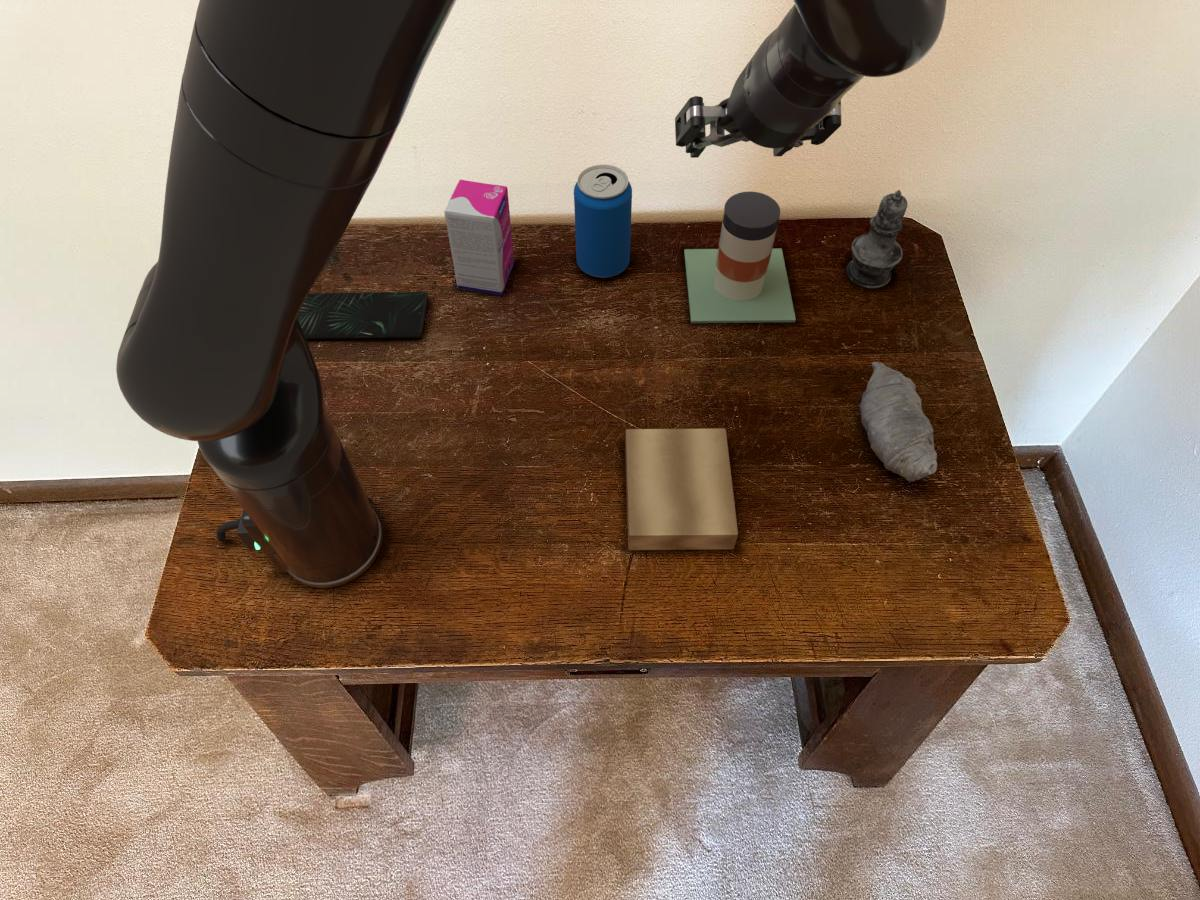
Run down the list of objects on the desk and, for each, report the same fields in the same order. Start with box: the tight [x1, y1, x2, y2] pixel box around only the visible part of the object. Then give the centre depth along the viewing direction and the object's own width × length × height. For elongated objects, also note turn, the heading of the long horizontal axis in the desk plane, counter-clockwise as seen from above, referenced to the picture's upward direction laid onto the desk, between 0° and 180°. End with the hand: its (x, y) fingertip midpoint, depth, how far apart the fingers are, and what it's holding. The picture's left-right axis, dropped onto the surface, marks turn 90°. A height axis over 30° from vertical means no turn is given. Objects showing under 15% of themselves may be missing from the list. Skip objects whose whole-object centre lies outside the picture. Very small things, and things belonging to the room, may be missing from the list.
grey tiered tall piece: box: [845, 189, 908, 289], centre depth 91 cm, size 6×6×12 cm
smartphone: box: [297, 291, 429, 340], centre depth 91 cm, size 7×1×15 cm
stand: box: [624, 427, 739, 551], centre depth 77 cm, size 10×12×3 cm
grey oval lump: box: [859, 361, 938, 482], centre depth 80 cm, size 6×14×8 cm, turn 5°
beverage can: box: [573, 164, 633, 279], centre depth 92 cm, size 6×6×12 cm
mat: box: [683, 247, 797, 324], centre depth 95 cm, size 12×12×1 cm
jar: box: [713, 191, 781, 301], centre depth 90 cm, size 6×11×6 cm
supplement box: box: [443, 179, 515, 296], centre depth 91 cm, size 6×6×12 cm
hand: (735, 147), depth 80 cm, fingers open, 8 cm apart
